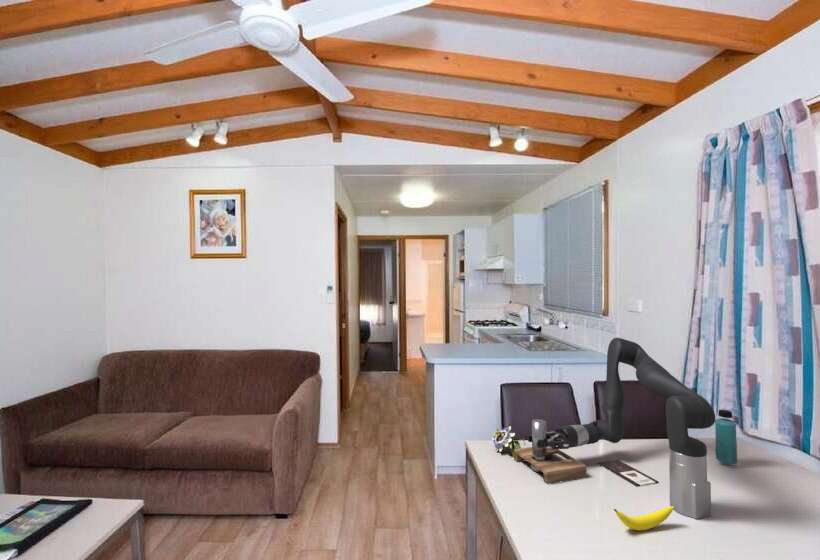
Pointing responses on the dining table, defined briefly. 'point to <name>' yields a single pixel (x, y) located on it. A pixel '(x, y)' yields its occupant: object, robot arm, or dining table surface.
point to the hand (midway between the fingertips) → (533, 441)
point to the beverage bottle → (726, 438)
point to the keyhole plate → (553, 465)
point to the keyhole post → (538, 435)
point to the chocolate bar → (628, 473)
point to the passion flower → (505, 440)
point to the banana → (645, 519)
